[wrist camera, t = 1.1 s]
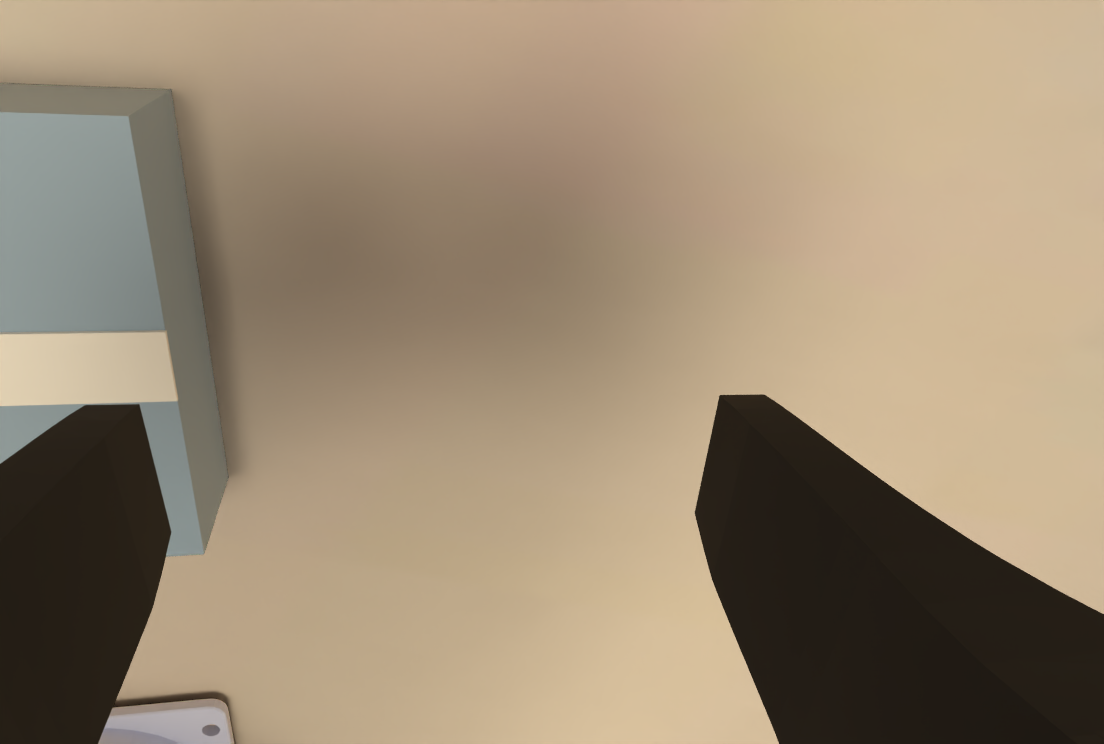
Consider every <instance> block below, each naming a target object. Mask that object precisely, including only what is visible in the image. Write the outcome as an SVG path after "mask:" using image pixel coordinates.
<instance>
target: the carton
mask: <svg viewBox="0 0 1104 744" xmlns="http://www.w3.org/2000/svg"><path fill="white" fill-rule="evenodd" d="M120 404H140V408H141V412H142V416H143V420H144V424H145V428H146V432H147V436H148V440H149V444H150V448H151V452H152V456H153V460H154V464H155V468H156V472H157V476H158V480H159V484H160V488H161V492H162V496H163V500H164V504H165V508H166V512H167V516H168V520H169V524H170V528H171V536H170V541H169V545H168V549H167V553H166V557H167V556H184V555H200V554H204V553H205V550H206V547H207V544H208V541H209V538H210V534H211V531H212V528H213V525H214V522H215V519H216V515H217V512H218V509H219V506H220V503H221V500H222V497H223V493H224V490H225V487H226V484H227V481H228V478H229V477H228V470H227V463H226V456H225V450H224V443H223V436H222V429H221V423H220V416H219V409H218V402H217V395H216V389H215V382H214V375H213V368H212V362H211V355H210V348H209V341H208V335H207V328H206V321H205V314H204V307H203V301H202V294H201V287H200V280H199V274H198V267H197V260H196V253H195V246H194V240H193V233H192V226H191V219H190V213H189V206H188V199H187V192H186V185H185V179H184V172H183V165H182V158H181V152H180V145H179V138H178V131H177V124H176V118H175V111H174V104H173V97H172V91H171V89H147V88H120V87H94V86H67V85H41V84H14V83H0V464H1V463H2V462H3V461H5V460H6V459H7V458H9V457H10V456H12V455H13V454H14V453H16V452H17V451H19V450H20V449H21V448H23V447H24V446H26V445H27V444H28V443H30V442H31V441H32V440H34V439H35V438H37V437H38V436H39V435H41V434H42V433H44V432H45V431H47V430H48V429H49V428H51V427H52V426H54V425H55V424H57V423H58V422H59V421H61V420H62V419H64V418H65V417H67V416H68V415H70V414H71V413H73V412H75V411H76V410H78V409H79V408H81V407H83V406H84V405H120Z"/></svg>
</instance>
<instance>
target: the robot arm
mask: <svg viewBox="0 0 1104 744" xmlns="http://www.w3.org/2000/svg"><path fill="white" fill-rule="evenodd" d="M695 516H696V520H697V524H698V528H699V532H700V536H701V540H702V544H703V548H704V552H705V555H706V559H707V563H708V566H709V570H710V573H711V577H712V580H713V583H714V585H715V588H716V591H717V593H718V596H719V598H720V601H721V603H722V606H723V608H724V610H725V613H726V615H727V618H728V620H729V623H730V625H731V628H732V630H733V633H734V635H735V637H736V640H737V642H738V645H739V647H740V649H741V652H742V654H743V657H744V659H745V661H746V664H747V666H748V669H749V671H750V673H751V676H752V678H753V681H754V683H755V685H756V688H757V690H758V693H759V695H760V697H761V700H762V702H763V705H764V707H765V709H766V712H767V714H768V717H769V719H770V721H771V724H772V726H773V729H774V731H775V734H776V736H777V739H778V742H779V744H1104V614H1102V613H1100V612H1098V611H1096V610H1094V609H1092V608H1090V607H1088V606H1086V605H1084V604H1083V603H1081V602H1079V601H1077V600H1075V599H1073V598H1071V597H1069V596H1067V595H1065V594H1063V593H1062V592H1060V591H1058V590H1056V589H1054V588H1052V587H1051V586H1049V585H1047V584H1045V583H1044V582H1042V581H1040V580H1038V579H1037V578H1035V577H1033V576H1031V575H1030V574H1028V573H1026V572H1024V571H1022V570H1021V569H1019V568H1017V567H1015V566H1014V565H1012V564H1010V563H1008V562H1007V561H1005V560H1003V559H1001V558H1000V557H998V556H996V555H995V554H993V553H991V552H990V551H988V550H986V549H985V548H983V547H981V546H980V545H978V544H976V543H975V542H973V541H972V540H970V539H968V538H967V537H965V536H964V535H962V534H961V533H959V532H958V531H956V530H955V529H953V528H952V527H950V526H949V525H947V524H945V523H944V522H942V521H941V520H939V519H938V518H936V517H935V516H933V515H932V514H930V513H929V512H927V511H926V510H924V509H923V508H921V507H920V506H918V505H917V504H915V503H914V502H912V501H911V500H909V499H908V498H907V497H905V496H904V495H902V494H901V493H899V492H898V491H897V490H895V489H894V488H892V487H891V486H889V485H888V484H887V483H885V482H884V481H882V480H881V479H880V478H878V477H877V476H876V475H874V474H873V473H871V472H870V471H869V470H867V469H866V468H865V467H863V466H862V465H860V464H859V463H858V462H856V461H855V460H854V459H852V458H851V457H850V456H848V455H847V454H846V453H844V452H843V451H842V450H840V449H839V448H838V447H836V446H835V445H834V444H832V443H831V442H830V441H828V440H827V439H826V438H824V437H823V436H822V435H820V434H819V433H818V432H816V431H815V430H814V429H812V428H811V427H810V426H808V425H807V424H806V423H804V422H803V421H801V420H800V419H799V418H797V417H796V416H795V415H793V414H792V413H791V412H789V411H788V410H786V409H785V408H784V407H782V406H781V405H779V404H778V403H776V402H775V401H773V400H772V399H770V398H769V397H767V396H765V395H720V396H719V401H718V406H717V411H716V415H715V420H714V425H713V429H712V434H711V439H710V444H709V448H708V453H707V458H706V462H705V467H704V472H703V477H702V481H701V486H700V491H699V495H698V500H697V505H696V510H695ZM170 536H171V528H170V524H169V520H168V516H167V512H166V508H165V504H164V500H163V496H162V492H161V488H160V484H159V480H158V476H157V472H156V468H155V464H154V460H153V456H152V452H151V448H150V444H149V440H148V436H147V432H146V428H145V424H144V420H143V416H142V412H141V408H140V404H120V405H84V406H83V407H81V408H79V409H78V410H76V411H75V412H73V413H71V414H70V415H68V416H67V417H65V418H64V419H62V420H61V421H59V422H58V423H57V424H55V425H54V426H52V427H51V428H49V429H48V430H47V431H45V432H44V433H42V434H41V435H39V436H38V437H37V438H35V439H34V440H32V441H31V442H30V443H28V444H27V445H26V446H24V447H23V448H21V449H20V450H19V451H17V452H16V453H14V454H13V455H12V456H10V457H9V458H7V459H6V460H5V461H3V462H2V463H1V464H0V744H234V739H233V733H232V728H231V722H230V717H229V711H228V707H227V705H226V704H225V703H224V702H222V701H221V700H218V699H199V700H188V701H178V702H167V703H157V704H147V705H136V706H126V707H115V708H113V706H114V703H115V701H116V698H117V696H118V693H119V691H120V689H121V686H122V684H123V681H124V679H125V676H126V674H127V671H128V669H129V666H130V664H131V661H132V659H133V656H134V654H135V651H136V649H137V646H138V644H139V641H140V639H141V636H142V634H143V631H144V629H145V626H146V624H147V621H148V618H149V616H150V613H151V611H152V608H153V605H154V601H155V597H156V593H157V590H158V586H159V582H160V578H161V574H162V570H163V566H164V562H165V558H166V553H167V549H168V545H169V541H170ZM210 724H211V725H210Z"/></svg>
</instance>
